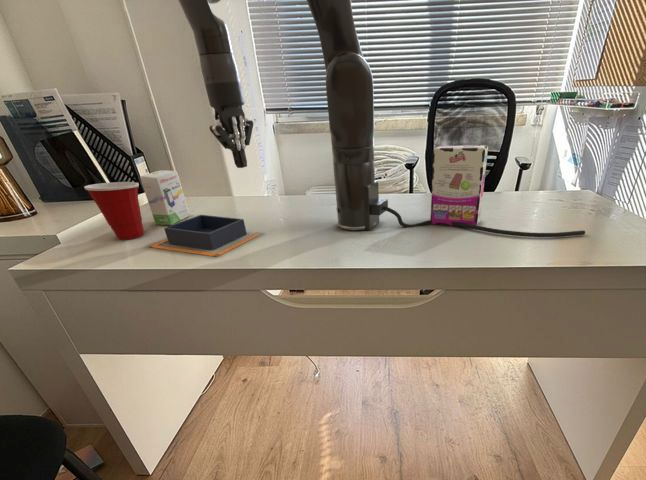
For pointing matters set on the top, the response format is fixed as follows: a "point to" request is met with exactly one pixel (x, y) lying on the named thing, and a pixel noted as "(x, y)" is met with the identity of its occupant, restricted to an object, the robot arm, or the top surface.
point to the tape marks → (199, 251)
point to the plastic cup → (119, 207)
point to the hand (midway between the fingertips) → (242, 167)
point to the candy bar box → (458, 184)
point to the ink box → (165, 197)
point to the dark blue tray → (205, 231)
